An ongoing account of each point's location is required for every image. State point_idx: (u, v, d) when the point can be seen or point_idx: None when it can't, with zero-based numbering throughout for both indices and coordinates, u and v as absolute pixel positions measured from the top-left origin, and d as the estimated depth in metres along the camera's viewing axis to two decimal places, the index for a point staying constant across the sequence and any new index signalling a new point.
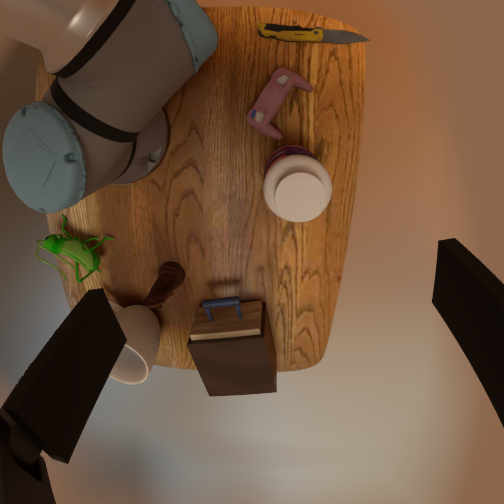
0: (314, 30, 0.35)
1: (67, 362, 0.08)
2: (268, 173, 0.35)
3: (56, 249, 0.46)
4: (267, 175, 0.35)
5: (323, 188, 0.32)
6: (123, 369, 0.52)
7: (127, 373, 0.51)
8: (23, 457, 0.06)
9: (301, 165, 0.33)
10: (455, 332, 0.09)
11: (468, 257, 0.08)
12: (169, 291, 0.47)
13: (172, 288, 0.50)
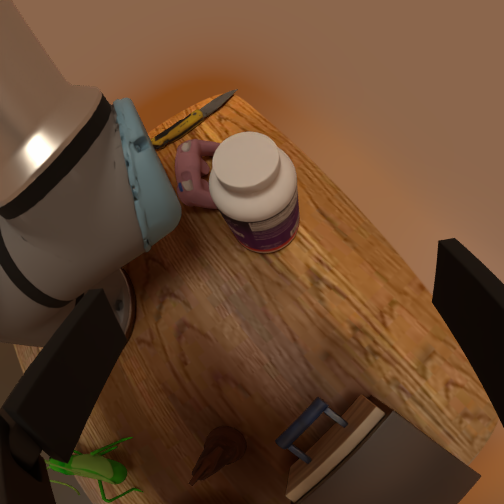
0: (192, 113, 0.44)
1: (67, 362, 0.08)
2: (209, 186, 0.28)
3: (64, 466, 0.26)
4: (209, 188, 0.28)
5: (259, 134, 0.25)
6: None
7: None
8: (23, 457, 0.06)
9: None
10: (455, 332, 0.09)
11: (468, 257, 0.08)
12: (215, 449, 0.25)
13: (226, 451, 0.27)
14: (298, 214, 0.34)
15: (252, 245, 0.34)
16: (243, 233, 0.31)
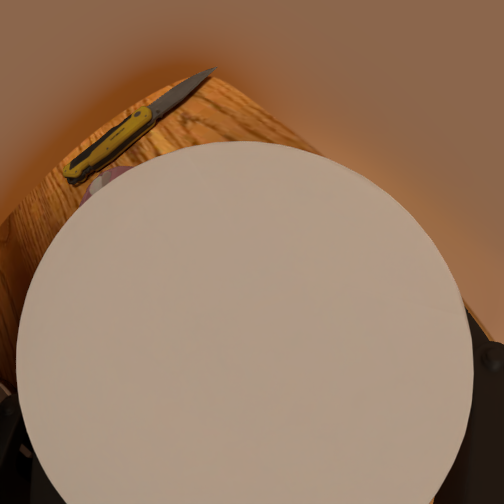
0: (133, 114, 0.23)
1: None
2: None
3: None
4: None
5: (300, 158, 0.03)
6: None
7: None
8: None
9: None
10: None
11: None
12: None
13: None
14: None
15: None
16: None
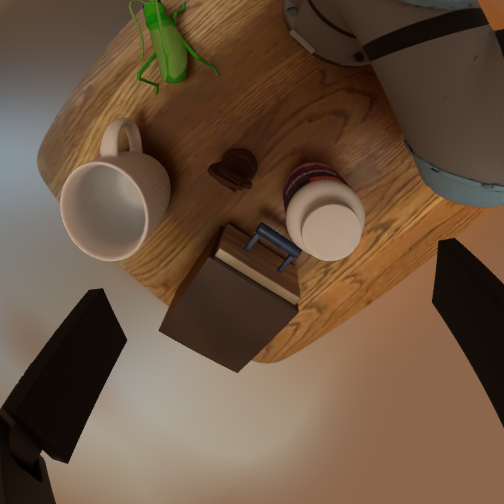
0: None
1: (67, 362, 0.09)
2: (318, 183, 0.29)
3: (157, 20, 0.26)
4: (315, 184, 0.29)
5: (357, 243, 0.28)
6: (84, 225, 0.33)
7: (86, 234, 0.33)
8: (23, 457, 0.06)
9: (352, 204, 0.29)
10: (455, 332, 0.09)
11: (468, 257, 0.08)
12: (249, 182, 0.33)
13: None
14: None
15: (284, 192, 0.37)
16: (286, 197, 0.34)
